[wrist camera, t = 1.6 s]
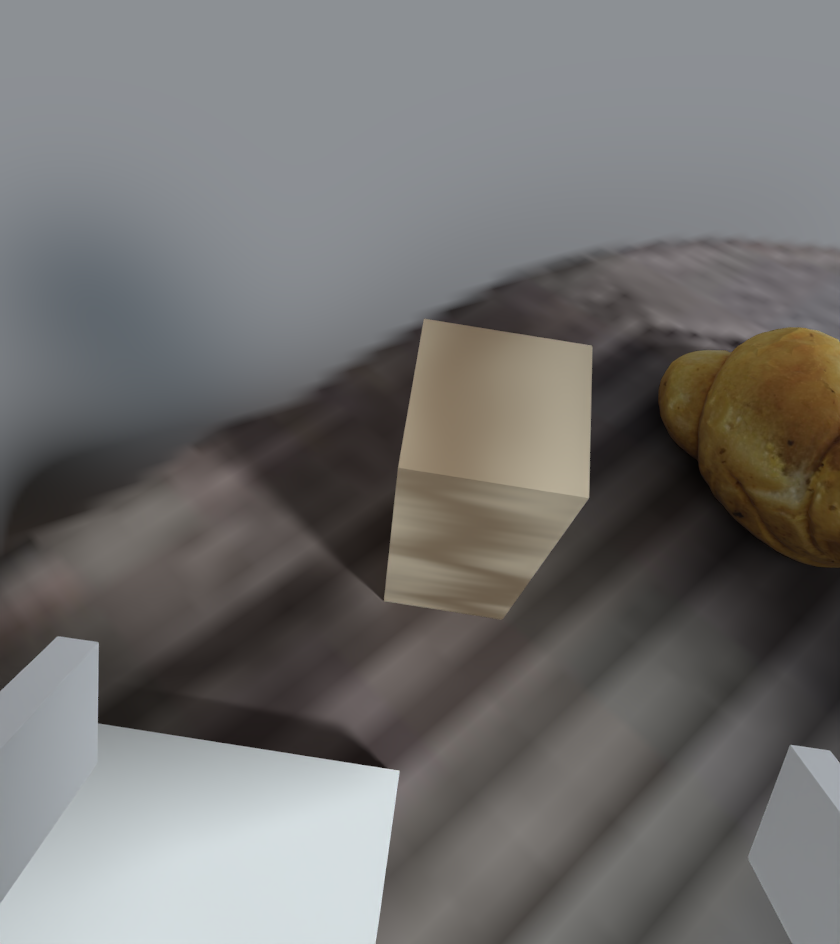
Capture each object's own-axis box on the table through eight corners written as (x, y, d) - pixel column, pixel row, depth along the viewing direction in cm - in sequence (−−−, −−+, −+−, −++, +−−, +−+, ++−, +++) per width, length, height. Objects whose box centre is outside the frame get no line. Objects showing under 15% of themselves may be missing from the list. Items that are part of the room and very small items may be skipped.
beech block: (510, 511, 30) (592, 345, 20) (502, 619, 28) (588, 498, 17) (401, 494, 30) (424, 318, 20) (384, 601, 28) (397, 467, 17)
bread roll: (604, 426, 33) (670, 317, 26) (726, 335, 36) (816, 217, 29) (816, 633, 29) (964, 572, 22) (932, 509, 32) (1094, 422, 25)
